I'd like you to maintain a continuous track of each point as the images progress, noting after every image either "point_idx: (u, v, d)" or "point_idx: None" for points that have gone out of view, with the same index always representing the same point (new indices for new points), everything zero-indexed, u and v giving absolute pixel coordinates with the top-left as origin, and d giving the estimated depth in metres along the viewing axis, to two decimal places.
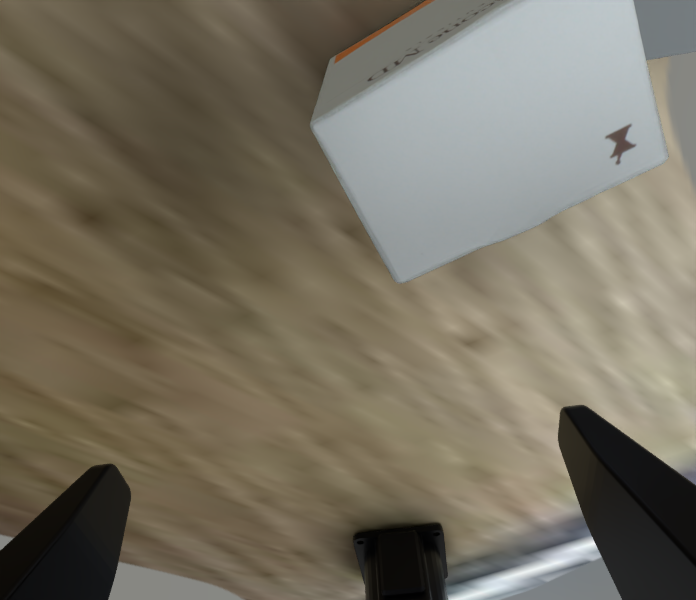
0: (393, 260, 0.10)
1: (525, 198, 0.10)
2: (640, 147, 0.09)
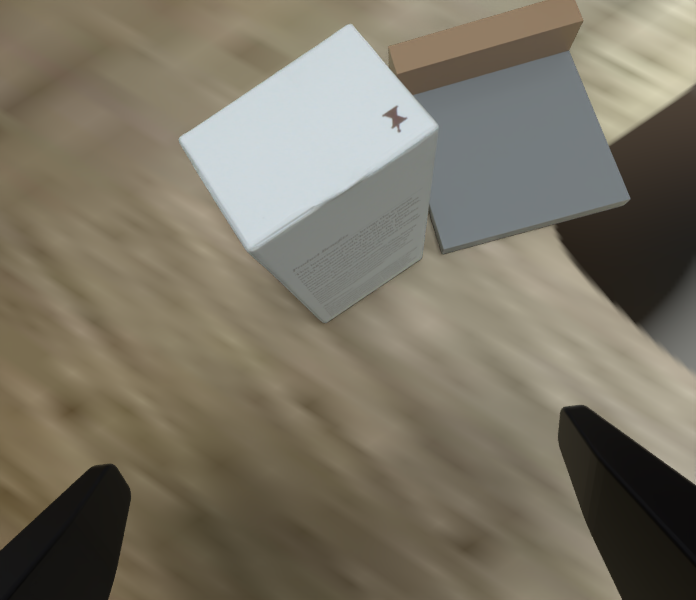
0: (240, 226, 0.12)
1: (337, 164, 0.13)
2: (411, 119, 0.13)
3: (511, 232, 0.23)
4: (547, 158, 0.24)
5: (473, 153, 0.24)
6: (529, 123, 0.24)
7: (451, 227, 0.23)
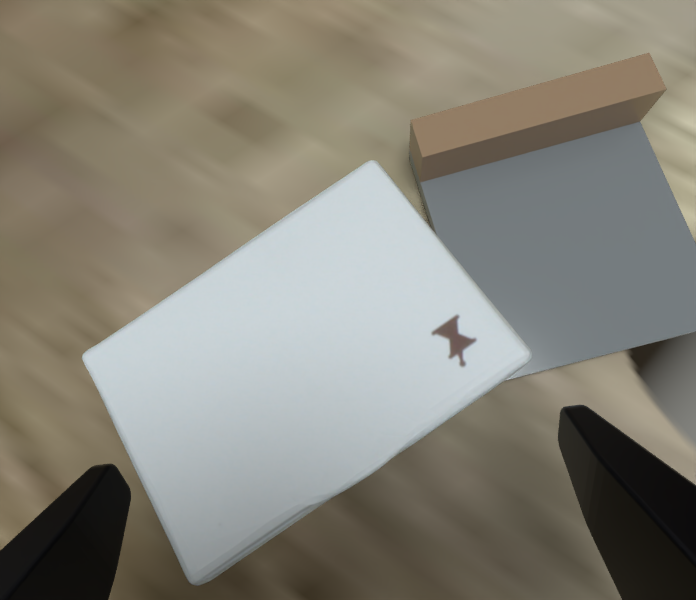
0: (178, 539, 0.07)
1: (352, 424, 0.07)
2: (483, 341, 0.07)
3: None
4: (617, 264, 0.18)
5: (520, 255, 0.19)
6: (592, 216, 0.19)
7: None
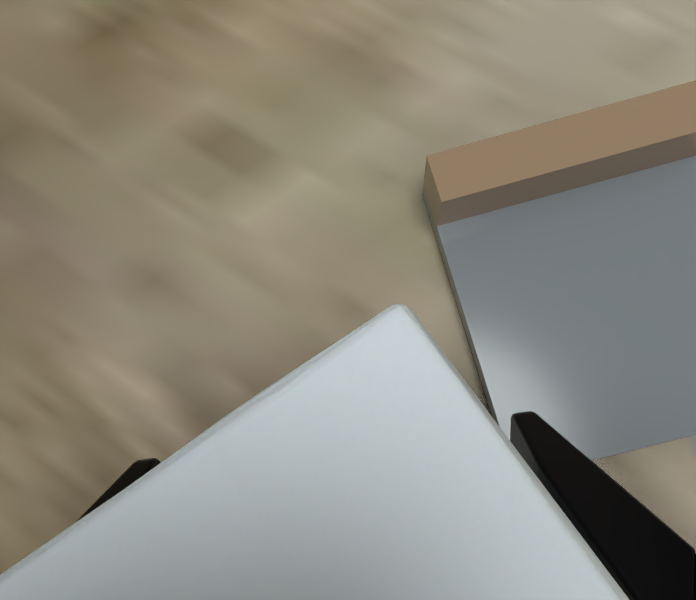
0: None
1: None
2: None
3: None
4: (676, 330, 0.15)
5: (557, 317, 0.15)
6: (644, 270, 0.16)
7: None
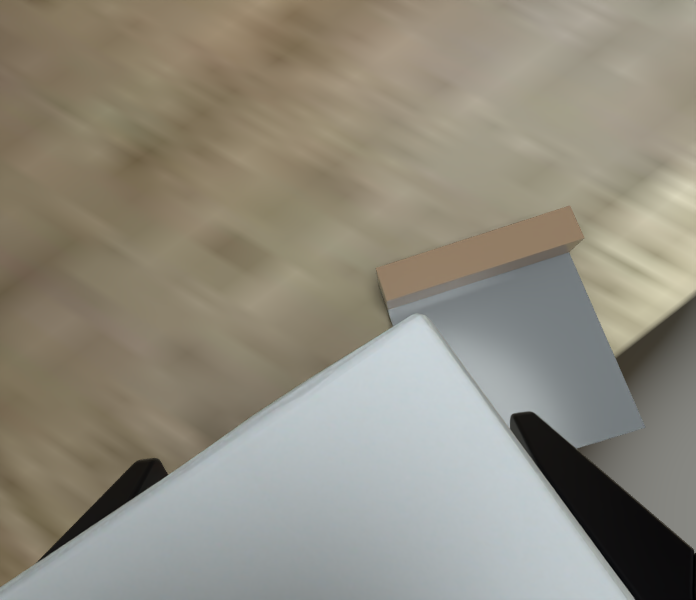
0: None
1: None
2: None
3: None
4: (553, 379, 0.22)
5: (473, 373, 0.22)
6: (531, 338, 0.22)
7: None
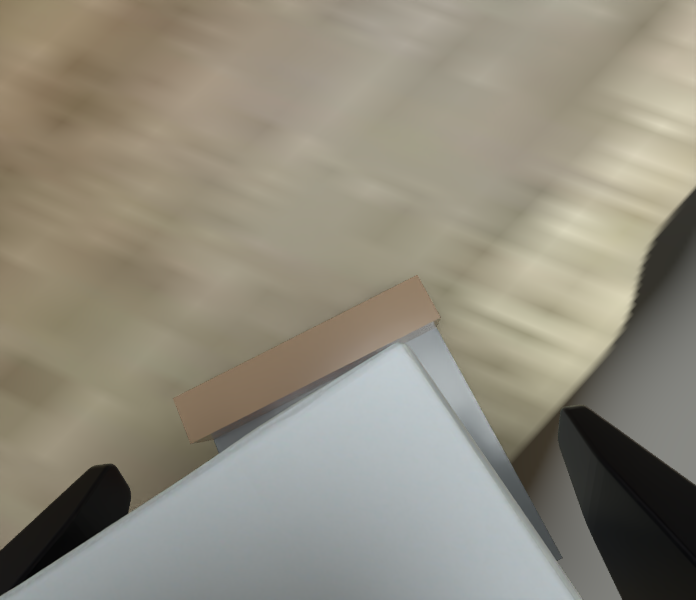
0: None
1: None
2: None
3: None
4: None
5: None
6: None
7: None
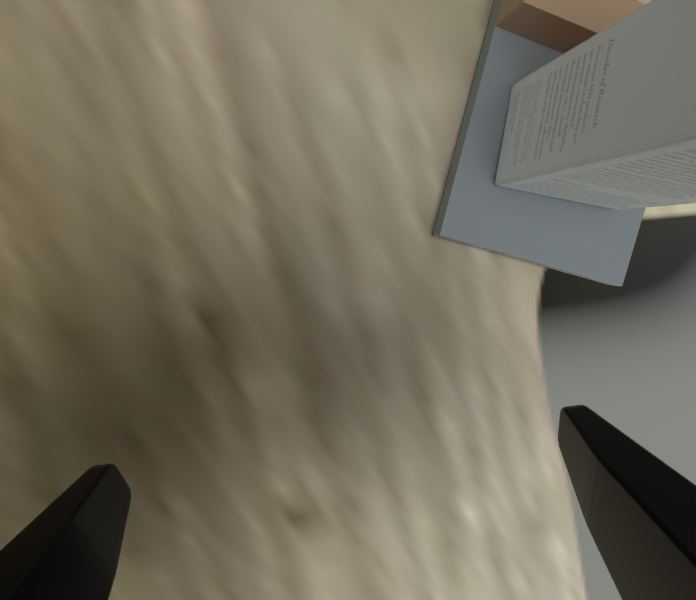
0: None
1: None
2: None
3: (509, 255, 0.21)
4: None
5: None
6: None
7: (460, 216, 0.20)
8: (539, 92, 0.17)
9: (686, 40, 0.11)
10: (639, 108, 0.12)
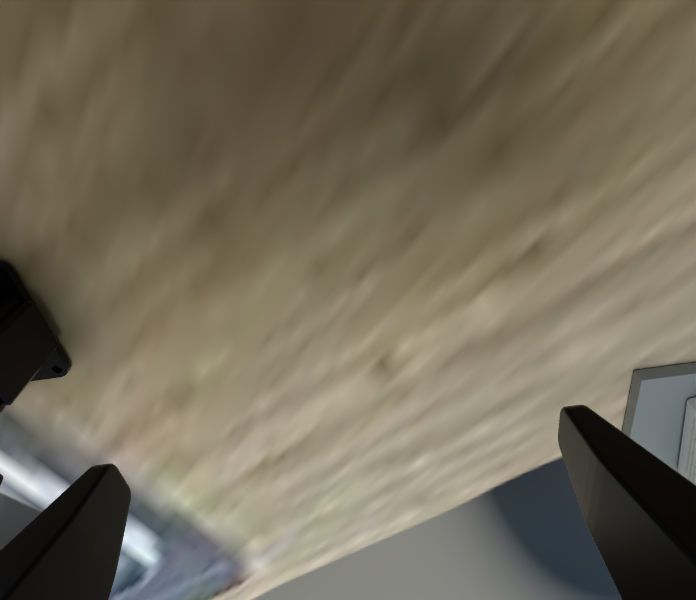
0: None
1: None
2: None
3: (630, 422, 0.27)
4: None
5: None
6: None
7: (658, 387, 0.25)
8: None
9: None
10: None
